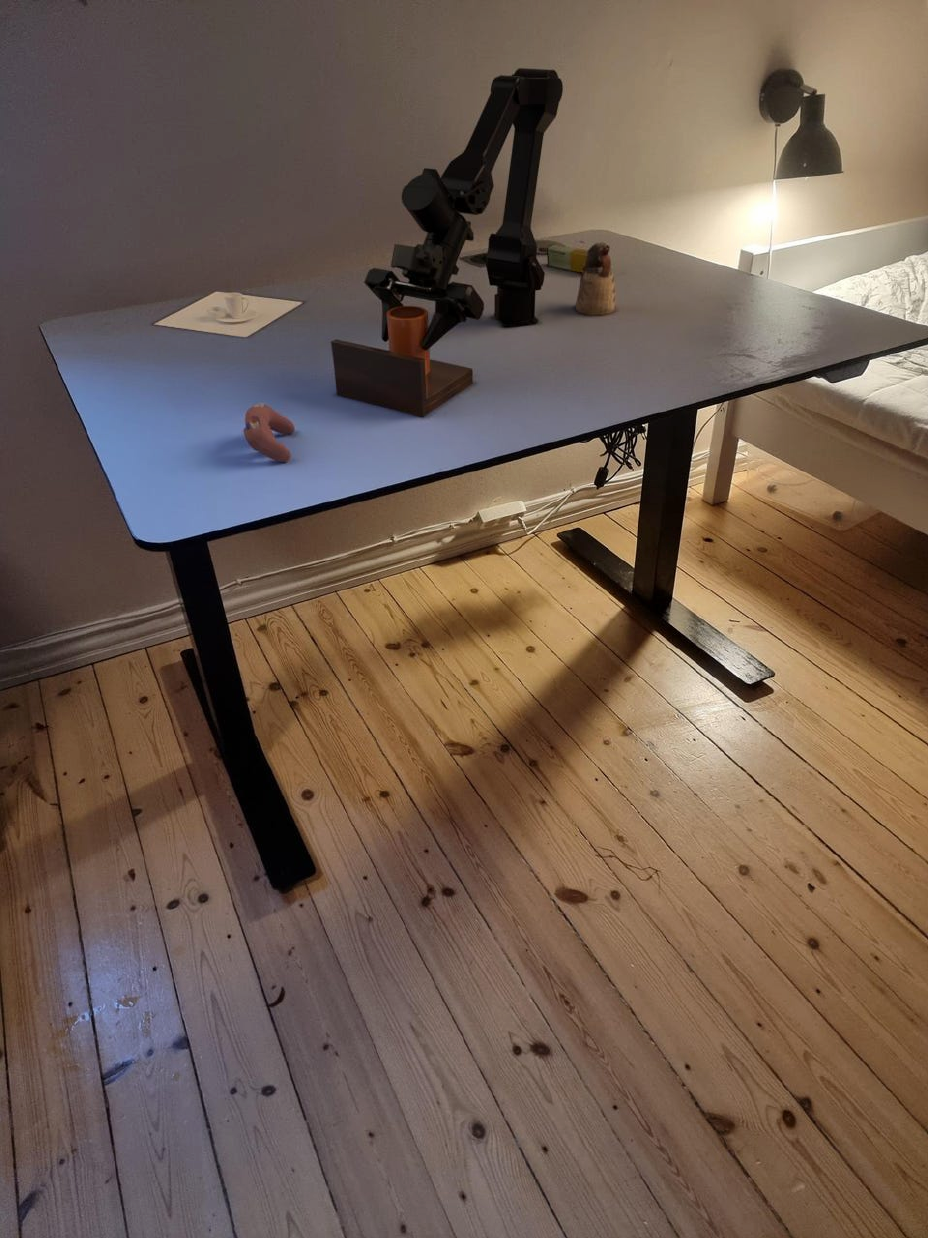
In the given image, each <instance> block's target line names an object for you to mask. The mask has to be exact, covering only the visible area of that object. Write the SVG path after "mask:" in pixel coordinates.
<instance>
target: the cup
mask: <svg viewBox="0 0 928 1238" xmlns="http://www.w3.org/2000/svg"><path fill="white" fill-rule="evenodd" d="M429 325H430V322H429V311H428V309H426V308H425V307H421V306H415V305H404V306H402V307H396V308H393V309H391V310H389V311H388V312H387V327H388V341H387V342H388V350H389V351H391V352H396V353H400V354H405V355H409V356H414V357H418V358H423V359H425V374H426V375H427V374H428V373H429V372H430V359H431V350H430V349H431V347H430V348H429V349H428V350H427V351H425V350H424V349H423V348H422V345H423V341H424V338H425V335H426V333H427V330H428V328H429Z"/></svg>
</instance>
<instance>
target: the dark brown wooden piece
mask: <svg viewBox="0 0 928 1238" xmlns="http://www.w3.org/2000/svg"><path fill="white" fill-rule="evenodd" d="M330 343H331V353H332V362H333V370H334V380H335V389H336V395H337V396H338V397H342V398H346V399H350V400H353V401H358V402H361V403H365V404H369V405H373V406H377V407H381V408H383V409H384V408H385V409H388V410H393V411H396V412H400V413H404V414H408V415H412V416H415V417H420V418H424V417H426V416H427V415H429V414H430V413H432V412H434V410H436V409H437V408H439V407H441V406H442V405H444V404H445V403H446V402H448V401H449V400H451V399H452V398H454V397H455V396H457V395H459V394H460V393H462V392H463V391H464V390H465V389H467V388H468V387H470V386H472V385H473V384H474V376H473V374H474V373H473V370H474V369H473V368H471V367H468V366H463V365H458V364H453V363H449V362H446V361H445V362H444V361H442V360H441V361H440V360H436V359H431V358H430V372H429V373H428V374H427V375H426V374H425V359H423V358H418V357H414V356H409V355H405V354H400V353H396V352H391V351H389V349H388V350H386V349H381V348H377V347H375V346H369V345H364V344H359V343H356V342H351V341H346V340H342V339H337V338H335V339H334V340H332V341H331V340H330Z"/></svg>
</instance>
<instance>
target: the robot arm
mask: <svg viewBox="0 0 928 1238" xmlns="http://www.w3.org/2000/svg"><path fill="white" fill-rule="evenodd" d="M563 85H564V84H563V81H562V78H559V75H558V73H557V71H556V70H555V69H546V68H545V69H544V68H525V67H524V68H523V67H522V68H521V67H519V68H517V69H516V70H515V72H514V73H512V74H511V75H506V74H505V75H504V74H500V75H498V76H496V77H494V78H493V79H492V82H491V84H490V94H489V96H488V99H487V100H486V102H485V105H484V107H483V109H482V111H481V114H480V116H479V118H478V120H477V122H476V125H475V127H474V128H473V131H472V133H471V136H470V138H469V140H468V142H467V144H466V147H465V148H464V150H463V151H462V152H461V154H459V155H458V156H456V157H455V158H453V159H451V161H450V162H449V163H448V165H447V167H446V168H445V170H444V171H443V172H442V174H441V176H440V173H439V171H438V170H437V169H436V168H427V167H424V168H423V170H422V173H421V174H420V175H417V176H415V177H414V178H412V179H411V180H410V181H408V183H406V185H405V186H404V187H403V188H402V192H401V202H402V204H403V206H404V207H405V209H406V210H407V212H408V213H409V215H410V216H411V217H412V219H413V221H414V222H415V223H416V224H417V225H418V227H419V228H420V229H421V230H422V231H423V232H425V233H426V236H425V238H424V241H423V243H422V244H419V243H417V244H416V245H415V246H411V245H404V244H399V243H394V245H393V251H392V257H391V261H390V267H391V268H393V269H395V268H397V269H400V270H402V272H401V275H402V277H404V278H405V279H408V280H407V281H408V282H407V281H403V280H402V281H401V280H400V279H399V277H398V276H397V275H396V274H395V273H394V271H393V270H389V269H382V268H379V267H378V268H377V267H373V268H371V269H369V270H368V272H367V274H366V276H365V279H364V281H363V283H364V284H365V285H366V287H367V288H368V289H369V290H370V291H371V292H372V293H373V294H374V295H375V296H376V297H377V298H378V300H380V301H381V340H382V341H383V342H384V343H387V342H389V341H388V327H387V312H388V311H389V310H391V309H393V308H396V307H402V306H405V305H404V304H403V303H402V302H403V301H404V298H405V297H409V298H414V299H421V300H426V301H431V302H434V313H433V316H432V318H431V321H430V322H429V328H428V330H427V333H426V335H425V338H424V341H423V345H422V348H423V349H424V350H425V351H427V350H428V349H429V348H430V349H431V348H432V347H433V346H434V345H435V344H436V343H438V342H439V340H440V339H442V338H443V337H444V336H445V335H446V334H447V333H448V332H450V331H451V330H453V329H454V328H455V327H457V326H458V325H459V324H460V323H466V322H467V320H468V319H469V320H470V319H471V320H475V321H479V320H481V318H482V316H483V313H484V310H485V302H484V300H483V298H482V297H481V296H480V295H479V293H478V292H477V290H476V289H475V287H474V286H473V285H472V284H468V283H462V282H456V281H451V278H452V275H454V276H457V275H458V273H459V271H460V268H459V266H458V265H457V263H458V260H459V258H460V256H461V252H462V250H463V248H464V245H465V242H466V241H469V242H473V241H474V239H475V235H474V231H473V229H472V222H471V221H470V220H469V221H468V220H466V218H465V216H464V215H463V214H466V215H474V216H477V215H482V214H483V213H484V212H485V210H486V209H487V207H488V205H489V203H490V201H491V196H492V193H493V190H494V185H495V184H494V178H493V170H494V166H495V164H496V162H497V160H498V158H499V156H500V154H501V151H502V149H503V147H504V144H505V143H506V140H507V137H508V135H509V133H510V131H511V129H512V127H513V128H514V131H513V139H512V147H511V154H510V163H509V170H508V178H507V184H506V185H507V186H506V194H505V201H504V207H503V215H502V216H503V217H502V221H501V225H500V227H499V228H498V230H497V231H496V232H495V233H491V234H490V236H489V237H488V247H487V253H486V256H485V268H486V273H487V277H488V282H489V286H492V287H493V286H494V287H495V286H496V293H495V294H494V301H493V302H494V305H493V306H494V311H493V317H494V318H495V319H496V320H497V321H498V322H499V323H500V324H501V325H502V326H503V327H505V328H509V327H518V326H524V325H525V326H526V325H531V324H537V323H539V318H537V317H536V291H541V290H542V287H543V285H544V283H545V275H546V272H545V271H544V269H543V267H542V266H541V263H540V262H539V260H538V258H537V255H538V254H537V253H538V245H537V242H536V239H535V237H534V233H533V231H532V221H533V214H534V213H533V212H534V206H535V198H536V191H537V185H538V177H539V171H540V164H541V158H542V151H543V150H542V149H543V142H544V136H545V133H546V131H547V130H548V128H549V127H550V126H551V124H552V123H553V121H554V120H555V119H556V117H557V114H558V109H559V104H560V102H561V100H562V97H563V91H564V86H563Z"/></svg>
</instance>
